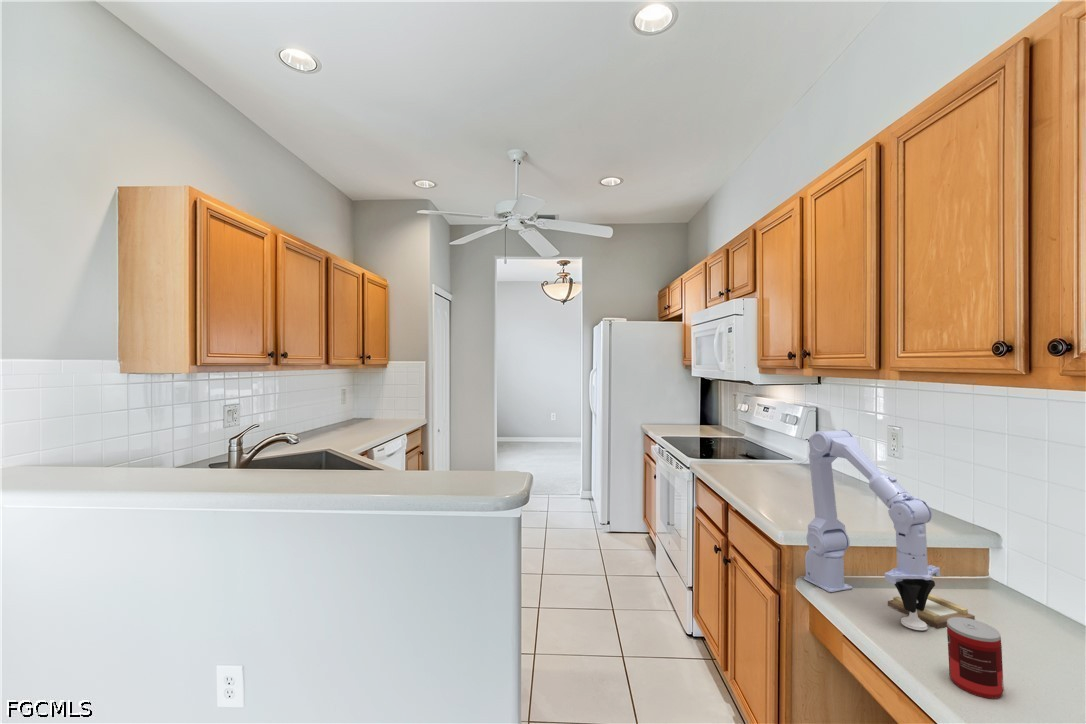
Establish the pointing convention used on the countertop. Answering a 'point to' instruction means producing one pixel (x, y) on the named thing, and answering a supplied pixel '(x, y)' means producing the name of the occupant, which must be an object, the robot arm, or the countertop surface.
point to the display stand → (934, 611)
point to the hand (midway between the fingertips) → (914, 609)
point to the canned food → (975, 657)
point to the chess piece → (914, 621)
